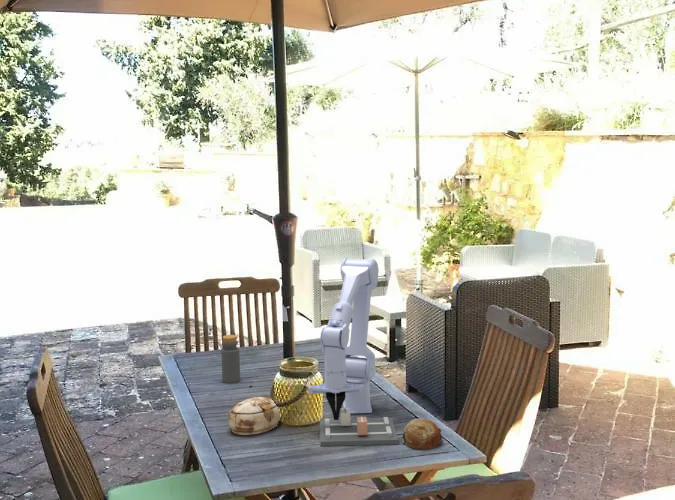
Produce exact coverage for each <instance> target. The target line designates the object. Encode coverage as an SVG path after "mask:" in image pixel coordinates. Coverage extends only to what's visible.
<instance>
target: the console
mask: <svg viewBox="0 0 675 500" xmlns="http://www.w3.org/2000/svg"><path fill="white" fill-rule="evenodd" d="M366 418H367V417H366ZM319 429H320V432H319V436H320V439H319V441H320V447H341V446H344V447H345V446H348V445H349V446H373V445H374V446H375V445H376V446H377V445H383V446H384V445H398V444H399V438H398V433H397V430H396V427H395V423H394V421H393V417H388V416H383V417H377V418H376V417H373V418H370V417H369V418H367V435H358V433H357V418H350V426H341V418H339V420H334V418H332V419H330V418H324V419H319Z"/></svg>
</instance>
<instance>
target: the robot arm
mask: <svg viewBox="0 0 675 500" xmlns="http://www.w3.org/2000/svg"><path fill="white" fill-rule="evenodd" d="M379 270H380V269H379V265H378V262H377V260H376V259H374V258H372V259H366V258H364V259H363V258H348V257H345V258H344V259H343V260H342V262H341V264H340V276H341V280H342V282H343V283H342V287H341V291H340V297H339V301H338V302H337V303H335V304H334V305H333V307H332V309H331V313H330V315H329V316H330V317H329V319H328V323H327V325H326V326H325V327H323V328H322V329H321V330H320V331H321V332H320V338H319V340H320V345H321V353H322V354H323V357H324V359H323V360H324V361H323V362H324V383H321V384H314V385H308V395H311V396H312V395H314V394H316V395H317V394H318V395H319V394H322V395H323V394H325V398H326V401H327V402H328V404H329V407H330V410H331V412H332V415H333V417H332V418H333V419H334V420H339V419H340V414H341V411H340V410H341V408H350V415H351V414H372V413H373V408H372V404H371V401H370V398H371V397H370V395H371V394H370V393H371V392H370V391H371V390H370V381H371V380H372V379H373V378H375V375H376V368H377V367H376V356H375V353H374V352H373V351H372V350H371V349H370V348H369V347H368V346H367V343H368V333H369V332H368V331H369V321H370V308H371V298H372V291H373V290H375V289H377V286H378V281H379ZM350 324H351V330H350ZM357 356H358V357H357Z"/></svg>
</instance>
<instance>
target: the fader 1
mask: <svg viewBox="0 0 675 500" xmlns="http://www.w3.org/2000/svg"><path fill="white" fill-rule="evenodd" d="M340 419H341V426H350V419H351V414H350V408H344V407H341V410H340Z"/></svg>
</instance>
